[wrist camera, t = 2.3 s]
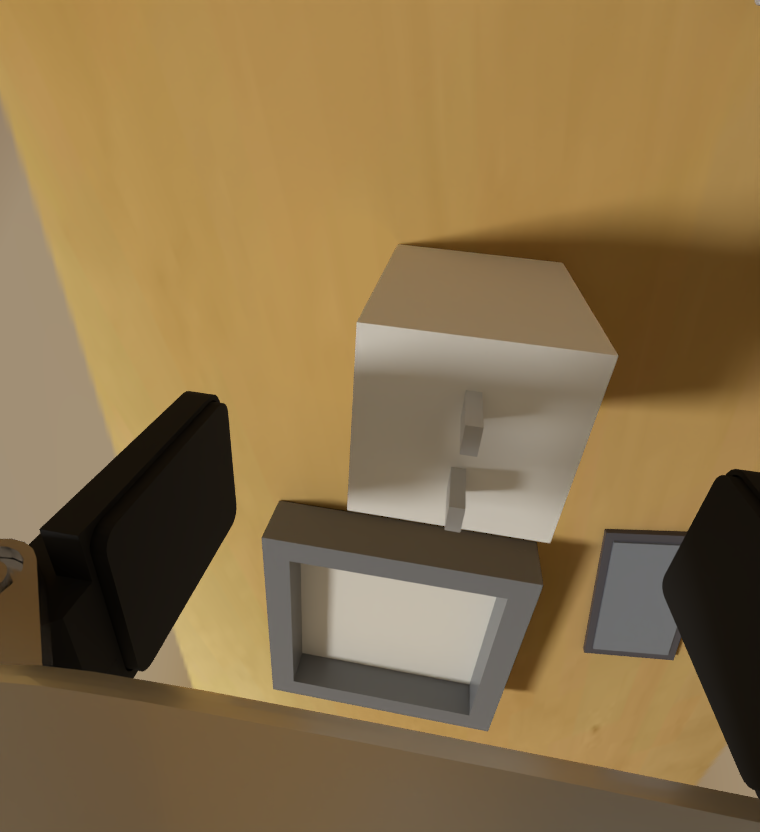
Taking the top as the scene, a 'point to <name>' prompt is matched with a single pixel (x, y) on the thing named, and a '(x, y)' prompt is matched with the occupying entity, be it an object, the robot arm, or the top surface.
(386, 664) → the dock
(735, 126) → the top surface
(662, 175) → the top surface
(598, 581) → the phone
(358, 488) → the charger
